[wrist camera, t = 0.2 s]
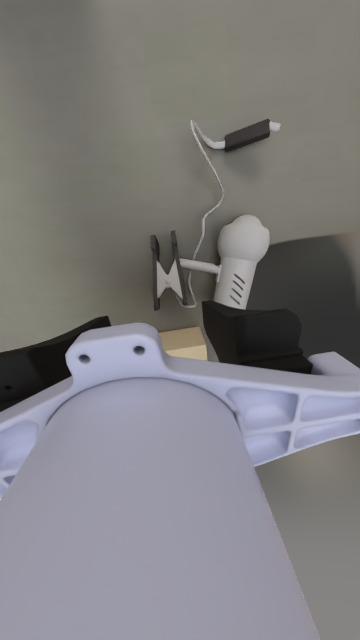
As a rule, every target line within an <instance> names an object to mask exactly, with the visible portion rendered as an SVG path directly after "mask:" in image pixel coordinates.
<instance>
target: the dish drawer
mask: <svg viewBox="0 0 360 640" xmlns="http://www.w3.org/2000/svg"><path fill="white" fill-rule="evenodd" d="M159 335H160V337H161V341H162V345H163V349H164V351H165V352H166V353H167V354H168V355H170V356H174V357H182V358H189V359H197V360H204V361H207V349H206V343H205V341H204V338H203V335H202V333H201V330H200V327H199V326H198V327H192V328H185V329H179V330H172V331H166V332H160V333H159Z"/></svg>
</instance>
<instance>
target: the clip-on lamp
mask: <svg viewBox="0 0 360 640" xmlns="http://www.w3.org/2000/svg"><path fill="white" fill-rule="evenodd" d="M280 125H281V124H278V123H273V122H270V120H269V119H266V120H264V121H261V122H258V123H256V124H253V125H251V126H248V127H246V128H243V129H241V130H238V131H235V132H233V133H230V134H228V135H226V136H225V141H222V142H213V141H211V140H210V139H208V138H207V137H206V136H205V135H204V134H203V133H202V131H201V130H200V129H199V127H198V126H197V125H196V123H195V122H194V121H190V128H191V131H192V134H193V137H194V139H195V141H196V143H197V145H198V147H199V149H200V151H201V152H202V154H203V156H204V158H205V159H206V161H207V163H208V164H209V166H210V168H211V169H212V171H213V173H214V175H215V177H216V178H217V180H218V182H219V185H220V188H221V199H220V202H219V203H218V204H217V205H216V206H215V207H214V208H213V209H211V210H210V211H209V212H208V213H207V214H206V215H205V216H204V217H203V219H202V221H201V237H200V240H199V243H198V245H197V247H196V249H195V252H194V254H193V257H192V260H188V259H182V258H179V254H178V249H177V241H176V234H175V230H174V231H171V237H172V245H173V252H174V257H175V260H174V263H173V265H172V268H171V270H170V273H169V274H168V275H166V273H165V271H164V270H163V268H162V266H161V265H160V263H159V255H160V253H159V243H158V241H157V239H156V236H155V235H151V248H152V251H153V294H154V310H155V311H158V310H159V309H160V296H161V295H162V293H163V292H164V290H165V289H169V288H172V289H173V290H174V291H175V292H176V297H177V300H178V302H179V304H180V305H181V306H183V307H185V308H193V307H195V306H196V304H197V303H196V299H195V297H194V295H193V292H192V289H191V283H190V279H191V271H192V270H198V271H204V272H209V273H215V274H217V275H216V280H215V281H217V283H216V288H215V294H214V299H213V301H215V302H218V303H220V304H223V305H226V306H230V307H233V308H238V309H244V310H245V308H246V304H247V300H248V296H249V292H250V289H251V285H252V280H253V276H254V272H255V268H256V264H257V262H258V261H260V260H261V259H262V257H263V256H264V254H265V253H266V251H267V249H268V246H269V230H268V229H267V228H265V227H263V226H262V224H261V222H260V221H259V220H258V219H257V218H256V217H255V216H252V215H243V216H240V217H238V218H237V219H235V220H234V221H233V222H232V224H229V225H226V226H224V227H223V228H222V230H221V232H220V234H219V238H218V243H217V248H218V253H219V256H220V257H221V261H220V265H218V266H215V265H214V264H211V263H205V262H200V261H194V259H195V257H196V254H197V252H198V250H199V247H200V245H201V243H202V241H203V238H204V233H205V226H204V220H205V219H206V217H207V216H208V215H210V214H211V213H212V212H213V211H214V210H215V209H216V208H217V207H218V206H219V205H220V204H221V203H222V200H223V198H224V190H223V187H222V184H221V181H220V179H219V177H218V175H217V173H216V171H215V169H214V167H213V165H212V164H211V162H210V160H209V158H208V157H207V155H206V153H205V151H204V149H203V148H202V146H201V144H200V142H199V139H198V137H197V135H196V132H197V133H198V135H199V136H200V137H201V139H202V140H203V141H204V142H205V143H206V144H207V145H208V146H209V147H211V148H213V149H223V148H225V149H226V151H227V152H228V151H231V150H234V149H237V148H240V147H243V146H245V145H248V144H251V143H254V142H257V141H260V140H262V139H265V138H268V137H269V135H270V131H273V132H278V130H279V127H280ZM194 129H195V130H194ZM195 131H196V132H195ZM181 268H186V269H189V273H188V289H189V292H190V294H191V296H192V298H193V300H194V303H193V304H192V305H187V298H186V291H185V285H184V280H183V275H182V270H181ZM178 295H179V296H180V297H181V298H182V299H183V304H182V303H181V302H180V299H179V297H178Z"/></svg>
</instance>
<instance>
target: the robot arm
mask: <svg viewBox="0 0 360 640" xmlns="http://www.w3.org/2000/svg"><path fill="white" fill-rule="evenodd" d="M202 310H203V322H204V328H205V331H206V334H207V336H208V338H209V340H210V342H211V344H212V346H213V348H214V350H215V352H216V354H217V356H218V359H219V362H220V363H219V362H212V361H204V360H197V359H189V358H182V357H174V356H170V355H168V354H167V353H166V352H165V351H164V349H163V345H162V341H161V337H160V335H159V333H158V331H157V329H156V328H154V327H152V326H151V325H149V324H147V323H130V324H124V325H117V326H111V324H110V321H109V318H108V316H103V317H98V318H95V319H93V320H91V321H89V322H87V323H85V324H83V325H81V326H80V327H78V328H76V329H73V330H71V331H69V332H67V333H65V334H63V335H61V336H58V337H56V338H53V339H50V340H47V341H44V342H41V343H38V344H35V345H31V346H28V347H24V348H20V349H15V350H11V351H6V352H1V353H0V499H1V500H0V640H320V638H319V635H318V632H317V630H316V627H315V624H314V622H313V619H312V617H311V614H310V611H309V609H308V606H307V604H306V601H305V598H304V596H303V593H302V591H301V588H300V585H299V583H298V580H297V578H296V575H295V572H294V570H293V567H292V565H291V562H290V559H289V557H288V554H287V552H286V549H285V546H284V544H283V541H282V539H281V536H280V534H279V531H278V528H277V526H276V523H275V520H274V518H273V515H272V513H271V510H270V507H269V505H268V502H267V500H266V497H265V494H264V492H263V489H262V487H261V484H260V481H259V479H258V476H257V474H256V471H255V469H254V467H256V466H258V465H261V464H264V463H267V462H269V461H272V460H275V459H278V458H281V457H283V456H286V455H289V454H292V453H294V452H297V451H300V450H302V449H305V448H308V447H311V446H314V445H317V444H320V443H323V442H326V441H330V440H334V439H337V438H341V437H345V436H349V435H355V434H359V433H360V369H359V368H357V367H356V366H355V365H353V364H352V363H350V362H349V361H347V360H346V359H344V358H343V357H342V356H340V355H338V354H337V353H336V352H328V353H322V354H316V355H312V356H310V357H309V358H308V359H306V358H305V357H304V356H303V355H302V354H303V350H302V349H301V348H300V347H298V345H299V340H300V334H301V322H300V319H299V318H298V317H297V315H295V314H294V313H292V312H291V311H289V310H288V309H277V310H264V311H263V310H244V309H238V308H233V307H230V306H226V305H223V304H220V303H218V302H215V301H212V300H208V301H202Z"/></svg>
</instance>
